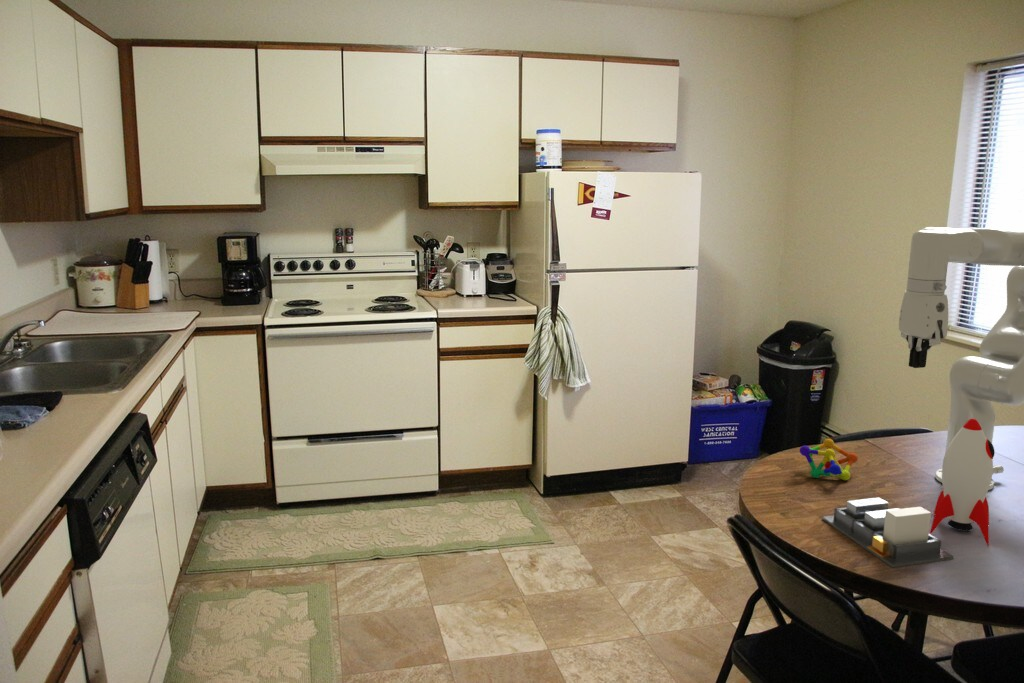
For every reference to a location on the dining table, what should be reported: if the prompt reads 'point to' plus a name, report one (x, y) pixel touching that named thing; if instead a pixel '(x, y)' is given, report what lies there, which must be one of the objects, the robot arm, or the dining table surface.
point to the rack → (867, 530)
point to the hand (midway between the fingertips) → (917, 366)
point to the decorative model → (829, 460)
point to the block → (906, 525)
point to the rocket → (966, 480)
